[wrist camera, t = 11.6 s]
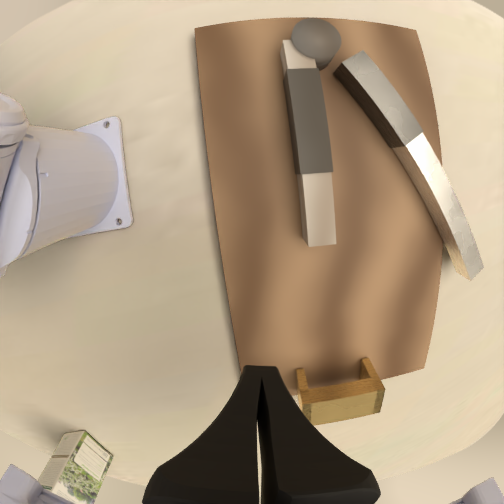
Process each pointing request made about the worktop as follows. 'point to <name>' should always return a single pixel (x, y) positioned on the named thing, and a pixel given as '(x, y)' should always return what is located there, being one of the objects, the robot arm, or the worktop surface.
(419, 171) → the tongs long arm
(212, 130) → the tong board
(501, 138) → the worktop surface
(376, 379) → the wooden u-shaped block
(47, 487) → the syrup box
